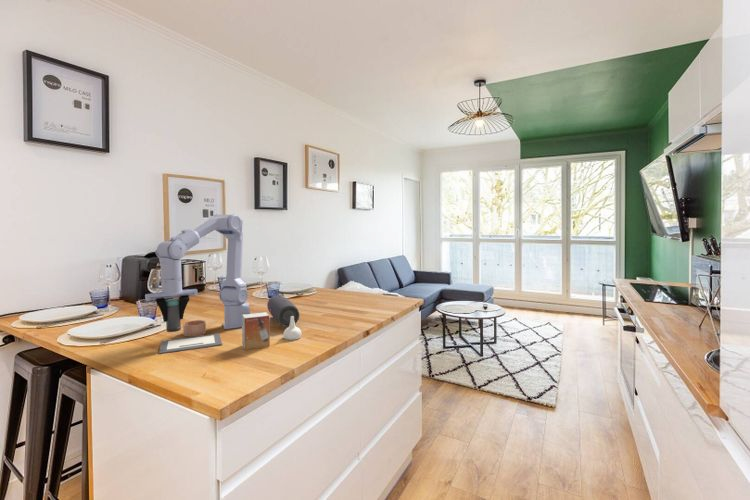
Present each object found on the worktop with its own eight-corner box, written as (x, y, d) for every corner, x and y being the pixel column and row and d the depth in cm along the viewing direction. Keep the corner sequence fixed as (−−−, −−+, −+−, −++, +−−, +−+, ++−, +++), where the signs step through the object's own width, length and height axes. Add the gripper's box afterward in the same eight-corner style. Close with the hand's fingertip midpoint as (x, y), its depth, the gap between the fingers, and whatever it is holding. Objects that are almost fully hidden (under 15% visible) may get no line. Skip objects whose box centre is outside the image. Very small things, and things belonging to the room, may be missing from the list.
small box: (244, 350, 111) (243, 318, 110) (242, 345, 116) (241, 314, 115) (270, 346, 114) (269, 315, 114) (267, 341, 119) (266, 311, 118)
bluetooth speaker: (265, 317, 151) (265, 294, 150) (287, 314, 155) (287, 292, 154) (276, 331, 130) (276, 305, 130) (301, 328, 135) (300, 303, 134)
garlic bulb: (284, 337, 126) (281, 315, 125) (301, 334, 127) (299, 313, 127) (283, 342, 120) (281, 320, 119) (302, 339, 121) (299, 317, 121)
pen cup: (205, 329, 133) (205, 319, 132) (206, 334, 126) (205, 324, 126) (183, 332, 129) (183, 321, 129) (183, 337, 123) (182, 326, 123)
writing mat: (219, 334, 127) (219, 332, 127) (221, 345, 116) (221, 343, 116) (162, 341, 119) (161, 340, 119) (158, 354, 107) (158, 352, 107)
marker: (179, 327, 116) (178, 298, 115) (181, 330, 113) (180, 300, 112) (165, 329, 113) (164, 299, 113) (167, 332, 110) (166, 301, 110)
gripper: (193, 275, 120) (195, 313, 121) (143, 279, 111) (145, 320, 112) (198, 277, 114) (199, 318, 115) (145, 281, 105) (147, 325, 106)
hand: (173, 319), depth 113 cm, fingers closed on marker, 4 cm apart
